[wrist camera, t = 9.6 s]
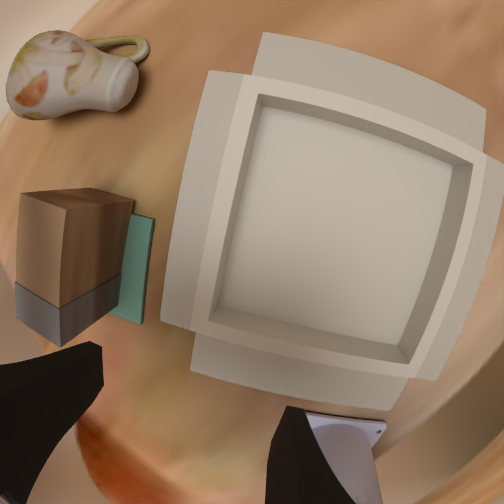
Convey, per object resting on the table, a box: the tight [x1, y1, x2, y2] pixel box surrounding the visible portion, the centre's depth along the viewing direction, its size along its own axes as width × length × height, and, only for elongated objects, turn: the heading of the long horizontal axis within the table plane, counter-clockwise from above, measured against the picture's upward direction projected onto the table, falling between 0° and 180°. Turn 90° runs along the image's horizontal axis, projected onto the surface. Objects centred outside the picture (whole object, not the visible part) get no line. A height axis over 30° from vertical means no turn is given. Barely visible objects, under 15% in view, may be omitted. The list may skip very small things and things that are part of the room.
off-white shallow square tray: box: [160, 32, 504, 411], centre depth 17 cm, size 21×19×3 cm
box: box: [15, 188, 134, 348], centre depth 16 cm, size 4×8×7 cm, turn 164°
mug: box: [6, 30, 149, 120], centre depth 15 cm, size 8×10×10 cm
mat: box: [108, 213, 155, 325], centre depth 20 cm, size 8×8×1 cm
